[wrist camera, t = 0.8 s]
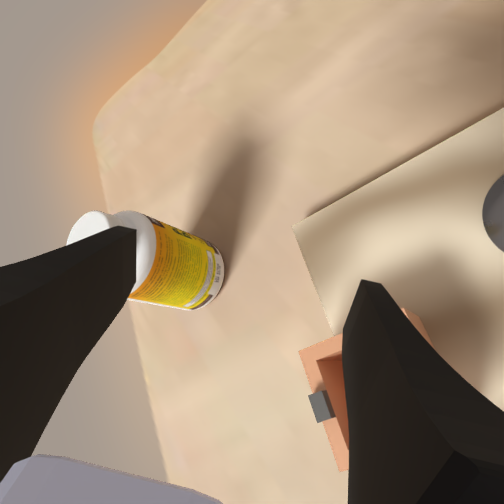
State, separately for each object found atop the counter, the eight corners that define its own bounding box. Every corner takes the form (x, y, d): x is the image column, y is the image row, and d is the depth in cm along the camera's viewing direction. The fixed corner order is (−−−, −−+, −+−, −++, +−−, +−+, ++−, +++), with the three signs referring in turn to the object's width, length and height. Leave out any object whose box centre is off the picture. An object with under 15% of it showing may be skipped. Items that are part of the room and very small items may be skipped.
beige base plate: (936, 524, 13) (983, 542, 11) (441, 588, 19) (437, 603, 18) (558, 92, 21) (561, 75, 20) (300, 232, 27) (291, 226, 26)
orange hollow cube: (472, 424, 18) (464, 440, 15) (365, 454, 20) (334, 475, 17) (419, 316, 21) (400, 306, 17) (327, 353, 23) (293, 350, 19)
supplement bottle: (233, 241, 30) (129, 194, 22) (221, 315, 29) (107, 295, 21) (178, 241, 33) (68, 199, 25) (166, 307, 32) (46, 287, 24)
